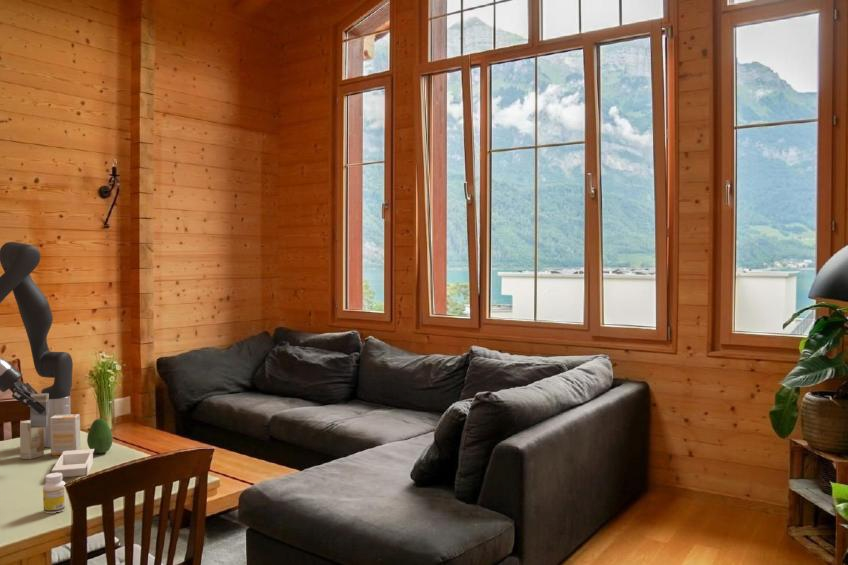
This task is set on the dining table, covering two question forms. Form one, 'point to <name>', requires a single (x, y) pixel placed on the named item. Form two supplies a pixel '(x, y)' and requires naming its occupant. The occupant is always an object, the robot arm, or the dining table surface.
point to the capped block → (35, 417)
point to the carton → (74, 462)
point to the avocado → (100, 436)
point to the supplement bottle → (54, 493)
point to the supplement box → (65, 433)
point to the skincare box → (31, 441)
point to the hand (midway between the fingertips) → (44, 409)
